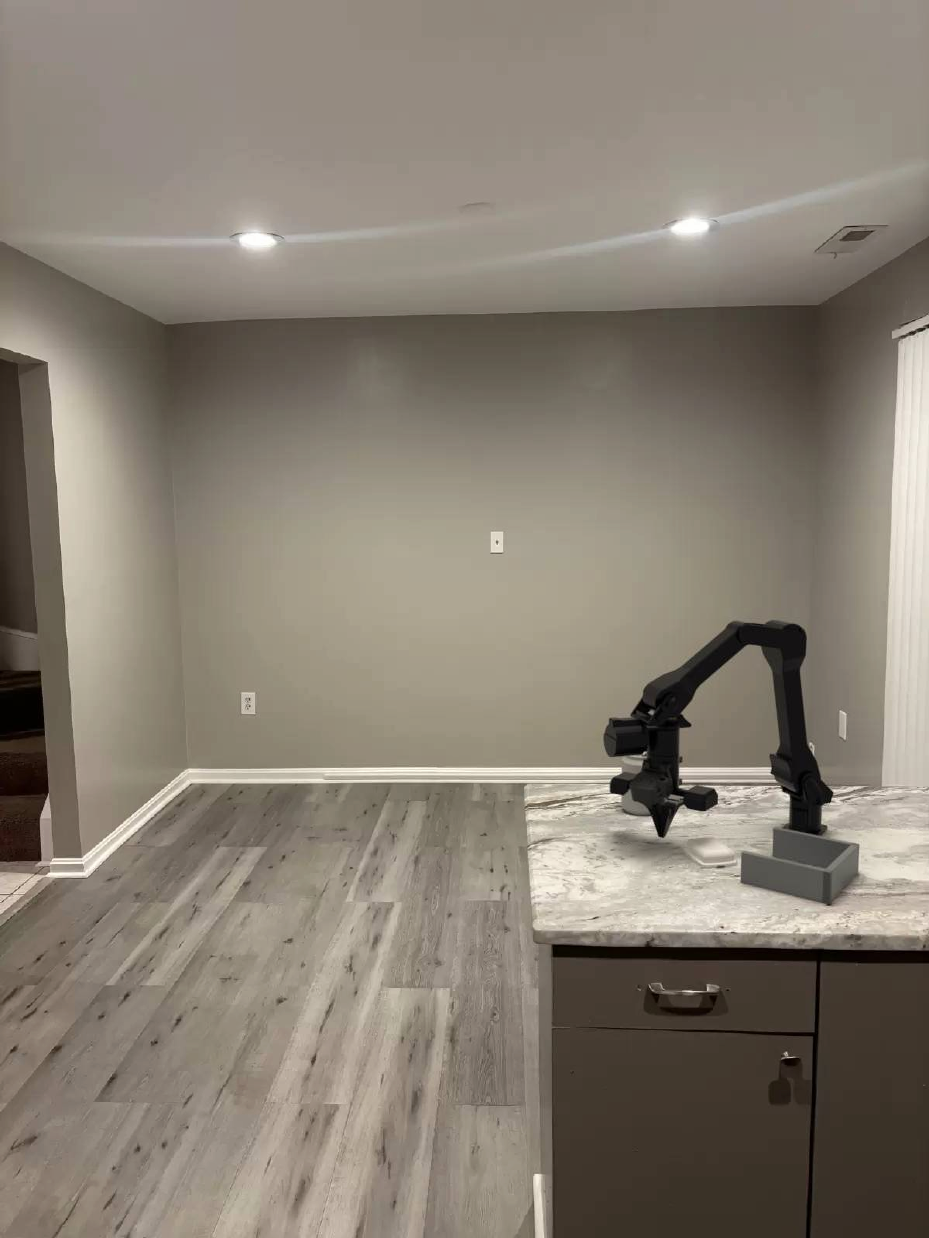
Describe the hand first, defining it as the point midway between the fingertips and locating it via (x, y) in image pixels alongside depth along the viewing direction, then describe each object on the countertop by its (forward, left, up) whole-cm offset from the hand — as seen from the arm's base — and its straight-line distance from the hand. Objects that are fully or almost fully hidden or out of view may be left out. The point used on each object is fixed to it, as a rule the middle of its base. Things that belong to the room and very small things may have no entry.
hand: (662, 837), depth 169 cm
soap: (+1, +9, -2) cm, 10 cm away
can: (-15, -12, -2) cm, 19 cm away
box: (0, +25, -2) cm, 25 cm away
